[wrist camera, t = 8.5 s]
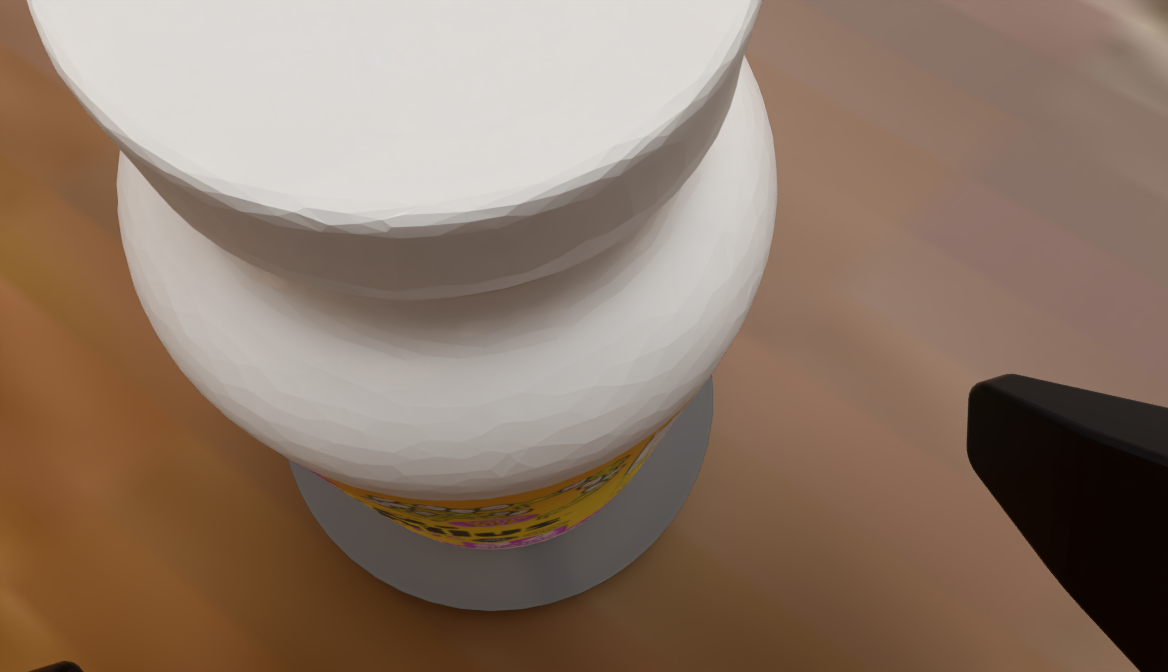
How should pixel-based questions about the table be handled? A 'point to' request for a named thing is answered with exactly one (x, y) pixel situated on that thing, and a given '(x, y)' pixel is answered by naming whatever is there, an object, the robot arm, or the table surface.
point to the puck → (534, 567)
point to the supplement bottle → (437, 230)
